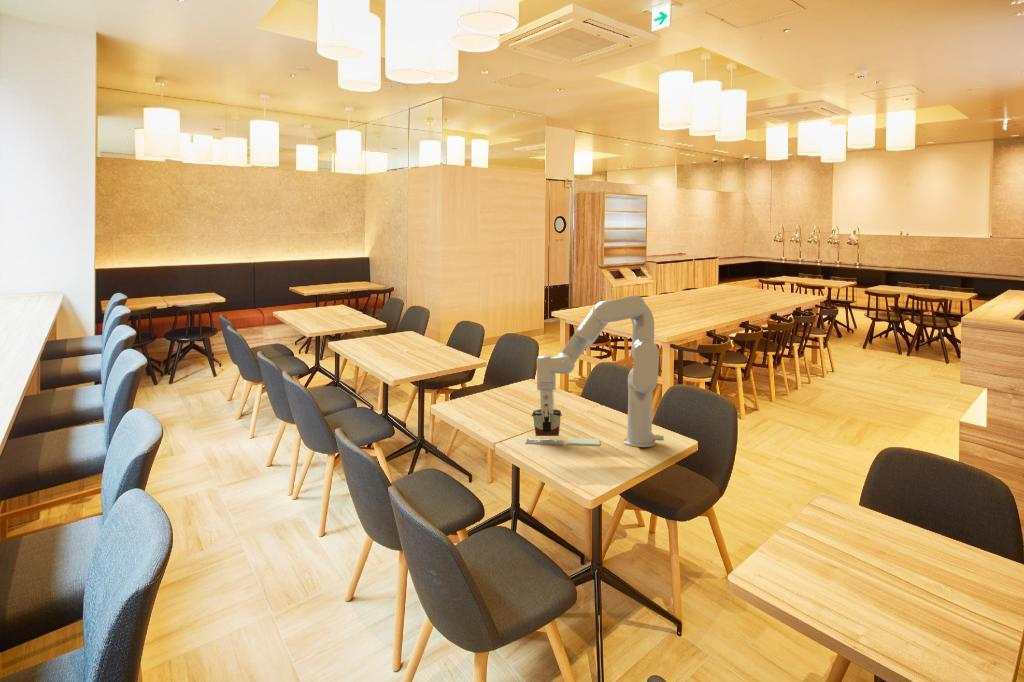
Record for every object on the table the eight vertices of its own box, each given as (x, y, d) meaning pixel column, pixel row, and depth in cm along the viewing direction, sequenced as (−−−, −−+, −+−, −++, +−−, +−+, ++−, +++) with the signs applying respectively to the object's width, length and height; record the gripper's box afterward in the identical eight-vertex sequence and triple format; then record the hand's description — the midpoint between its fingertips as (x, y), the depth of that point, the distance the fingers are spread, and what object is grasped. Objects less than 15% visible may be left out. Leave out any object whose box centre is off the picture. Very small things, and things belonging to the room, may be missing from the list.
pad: (598, 438, 230) (598, 437, 230) (599, 445, 219) (600, 444, 219) (567, 437, 231) (567, 436, 231) (567, 444, 220) (567, 443, 220)
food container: (562, 432, 228) (562, 408, 227) (562, 436, 222) (562, 411, 221) (533, 432, 229) (532, 408, 229) (531, 436, 223) (531, 411, 223)
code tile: (563, 438, 230) (563, 437, 230) (563, 445, 219) (563, 444, 219) (527, 437, 232) (527, 436, 232) (525, 443, 221) (525, 443, 221)
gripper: (555, 389, 215) (555, 435, 216) (556, 382, 232) (556, 425, 233) (535, 389, 216) (536, 435, 217) (538, 382, 233) (539, 425, 234)
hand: (547, 429), depth 225 cm, fingers closed on food container, 5 cm apart
